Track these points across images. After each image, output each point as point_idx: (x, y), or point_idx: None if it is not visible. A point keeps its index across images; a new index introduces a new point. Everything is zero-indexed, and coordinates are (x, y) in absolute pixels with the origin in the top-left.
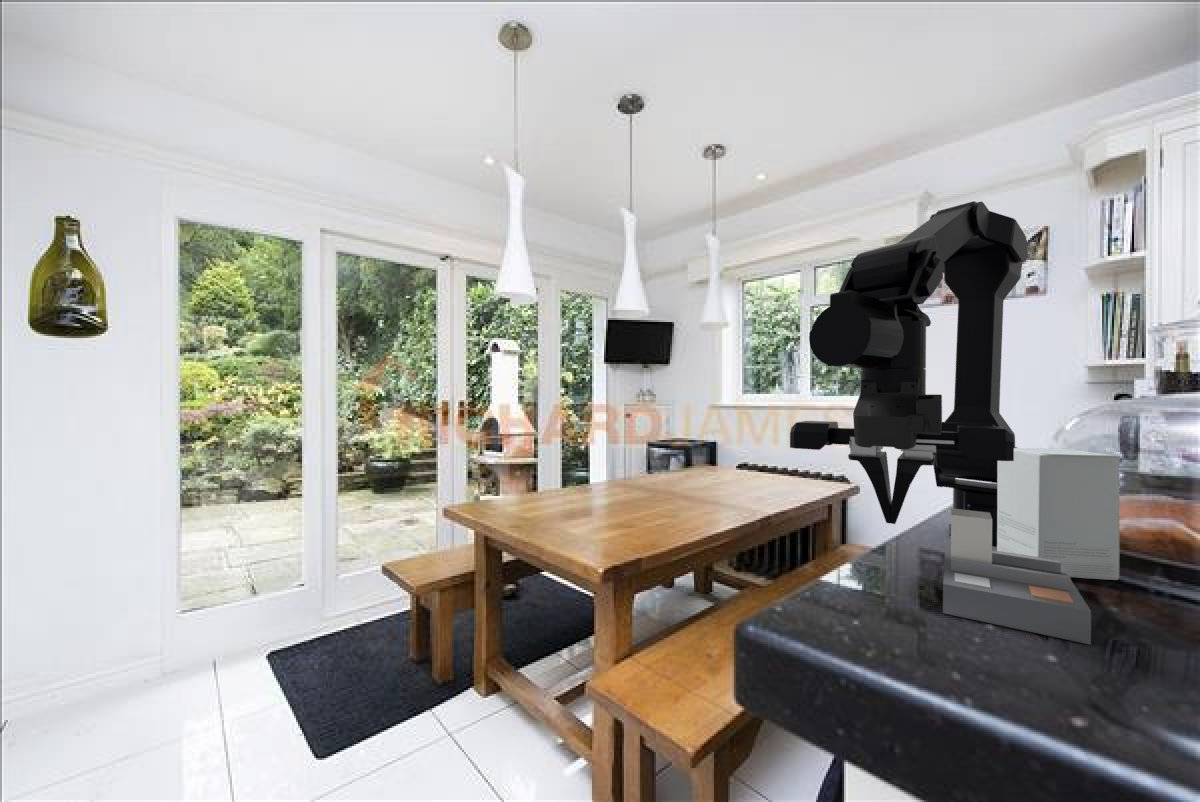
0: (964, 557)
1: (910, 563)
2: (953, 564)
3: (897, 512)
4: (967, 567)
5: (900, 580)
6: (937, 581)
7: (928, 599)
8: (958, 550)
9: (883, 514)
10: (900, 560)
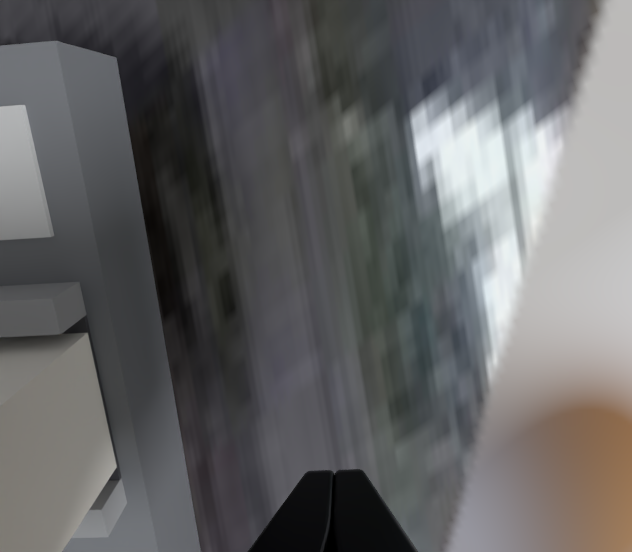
0: (9, 357)
1: None
2: (53, 290)
3: (282, 517)
4: (3, 292)
5: (302, 327)
6: (196, 396)
7: (185, 180)
8: (12, 367)
9: (381, 498)
10: None
